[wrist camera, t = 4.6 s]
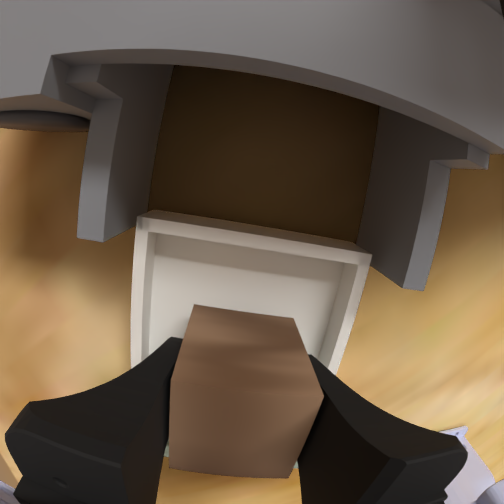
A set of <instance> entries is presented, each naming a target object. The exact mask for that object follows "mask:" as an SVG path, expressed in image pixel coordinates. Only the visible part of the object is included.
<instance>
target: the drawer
mask: <svg viewBox="0 0 504 504" xmlns="http://www.w3.org/2000/svg"><path fill="white" fill-rule="evenodd" d="M371 258H372V254H371V253H369V252H367V251H366V250H364V249H362V248H361V247H359V246H357V245H356V244H354V243H352V242H349V241H344V240H339V239H333V238H328V237H322V236H316V235H311V234H305V233H299V232H294V231H288V230H282V229H276V228H270V227H264V226H258V225H252V224H246V223H240V222H234V221H227V220H221V219H215V218H208V217H202V216H195V215H189V214H182V213H175V212H168V211H161V210H152V211H149V212H147V213H144V214H142V215H139V216H137V223H136V233H135V245H134V258H133V273H132V294H131V369H132V368H133V367H134V366H136V365H137V364H139V363H140V362H142V361H143V360H144V359H145V358H147V357H148V356H149V355H150V354H152V353H153V352H154V351H155V350H156V349H157V348H158V347H160V346H161V345H162V344H163V343H164V342H165V341H166V340H167V339H168V338H170V337H177V338H182V339H183V338H184V335H185V331H186V328H187V325H188V322H189V318H190V315H191V312H192V309H193V306H194V304H197V305H203V306H209V307H216V308H222V309H229V310H236V311H243V312H250V313H258V314H265V315H273V316H281V317H289V318H294V321H295V323H296V326H297V328H298V331H299V333H300V336H301V338H302V341H303V343H304V346H305V348H306V351H307V354H311V355H313V356H314V357H315V358H317V359H318V360H319V361H320V362H321V363H322V364H323V365H324V366H325V367H326V368H328V369H329V370H330V371H331V372H332V373H333V374H334V375H335V376H336V373H337V370H338V368H339V365H340V362H341V359H342V356H343V353H344V350H345V347H346V344H347V341H348V338H349V335H350V332H351V329H352V326H353V323H354V319H355V316H356V313H357V310H358V306H359V303H360V299H361V296H362V292H363V289H364V285H365V281H366V278H367V274H368V270H369V266H370V262H371ZM164 456H166V457H169V439H168V442H167V445H166V449H165V453H164ZM294 468H298V463H297V461H296V463H295V465H294Z"/></svg>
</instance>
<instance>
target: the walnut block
mask: <svg viewBox="0 0 504 504" xmlns="http://www.w3.org/2000/svg"><path fill="white" fill-rule="evenodd" d="M323 398H324V395H323V392H322V390H321V387H320V384H319V382H318V379H317V377H316V374H315V372H314V369H313V366H312V364H311V361H310V359H309V356H308V354H307V351H306V348H305V346H304V343H303V341H302V338H301V336H300V333H299V331H298V328H297V326H296V323H295V321H294V318H289V317H281V316H273V315H265V314H258V313H250V312H243V311H236V310H229V309H222V308H216V307H209V306H203V305H197V304H194V306H193V309H192V312H191V315H190V318H189V322H188V325H187V328H186V331H185V335H184V338H183V341H182V344H181V348H180V351H179V354H178V358H177V361H176V364H175V368H174V371H173V375H172V378H171V387H170V416H169V468H173V469H178V470H184V471H191V472H198V473H206V474H214V475H224V476H236V477H251V478H289V476H290V474H291V472H292V470H293V468H294V465H295V463H296V461H297V459H298V457H299V455H300V452H301V450H302V448H303V446H304V444H305V441H306V439H307V437H308V434H309V432H310V430H311V427H312V425H313V423H314V420H315V418H316V415H317V413H318V410H319V408H320V405H321V403H322V400H323Z"/></svg>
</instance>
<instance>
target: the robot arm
mask: <svg viewBox="0 0 504 504" xmlns="http://www.w3.org/2000/svg"><path fill="white" fill-rule="evenodd" d="M182 341H183V339H182V338H177V337H170V338H168V339H167V340H166V341H165V342H164V343H163V344H162V345H161V346H160V347H158V348H157V349H156V350H155V351H154V352H153V353H152V354H150V355H149V356H148V357H147V358H145V359H144V360H143V361H142V362H140V363H139V364H137V365H136V366H134V367H133V368H132V369H130V370H129V371H127V372H126V373H124V374H122V375H121V376H119V377H117V378H115V379H113V380H111V381H109V382H107V383H105V384H102V385H100V386H97V387H95V388H92V389H90V390H87V391H84V392H81V393H77V394H74V395H70V396H65V397H61V398H56V399H49V400H41V401H32V402H29V403H28V404H27V405H26V406H25V407H24V408H23V410H22V411H21V412H20V413H19V415H18V416H17V418H16V419H15V420H14V422H13V423H12V425H11V426H10V427H9V429H8V430H7V432H6V433H5V442H6V445H7V447H8V450H9V452H10V454H11V456H12V458H13V459H14V461H15V463H16V465H17V467H18V468H19V470H20V472H21V473H22V475H23V476H22V478H21V480H20V482H19V484H18V485H17V487H16V489H15V488H13V487H11V486H9V485H7V484H6V483H4V482H2V481H1V480H0V504H156V498H157V492H158V485H159V479H160V473H161V467H162V462H163V457H164V453H165V449H166V445H167V442H168V439H169V416H170V387H171V378H172V375H173V371H174V368H175V364H176V361H177V358H178V354H179V351H180V348H181V344H182ZM308 356H309V359H310V361H311V364H312V366H313V369H314V372H315V374H316V377H317V379H318V382H319V384H320V387H321V390H322V392H323V395H324V398H323V400H322V403H321V405H320V408H319V410H318V413H317V415H316V418H315V420H314V423H313V425H312V427H311V430H310V432H309V434H308V437H307V439H306V441H305V444H304V446H303V448H302V450H301V452H300V455H299V457H298V459H297V463H298V468H299V476H300V485H301V496H302V504H504V479H502V480H500V481H499V482H497V483H495V480H494V477H493V475H492V473H491V471H490V470H489V469H488V467H487V466H486V465H485V463H484V462H483V461H482V459H481V458H480V457H479V455H478V454H477V452H476V451H475V450H474V449H473V447H472V446H471V445H470V443H469V442H468V441H467V439H466V438H465V437H464V435H465V434H466V432H467V431H468V428H467V426H462V427H458V428H454V429H449V430H445V431H440V432H436V431H432V430H428V429H425V428H422V427H419V426H417V425H414V424H411V423H409V422H406V421H404V420H402V419H399V418H397V417H395V416H393V415H391V414H389V413H387V412H385V411H383V410H382V409H380V408H378V407H377V406H375V405H373V404H372V403H370V402H368V401H367V400H366V399H364V398H363V397H361V396H360V395H359V394H357V393H356V392H355V391H353V390H352V389H351V388H349V387H348V386H347V385H346V384H345V383H343V382H342V381H341V380H340V379H339V378H338V377H336V376H335V375H334V374H333V373H332V372H331V371H330V370H329V369H328V368H326V367H325V366H324V365H323V364H322V363H321V362H320V361H319V360H318V359H317V358H315V357H314V356H313V355H311V354H308Z"/></svg>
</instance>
